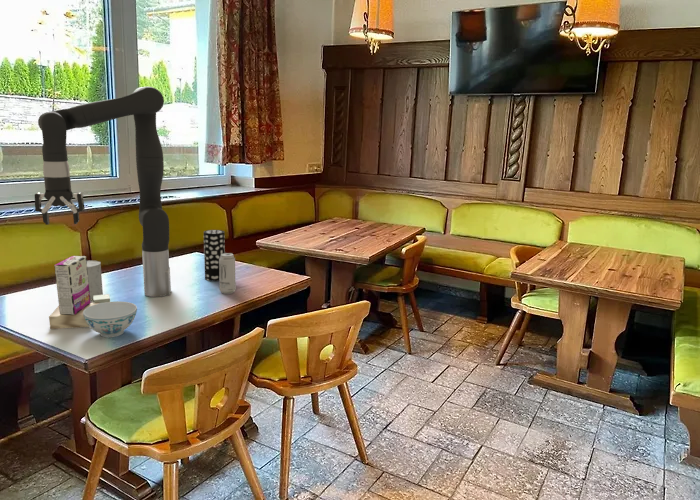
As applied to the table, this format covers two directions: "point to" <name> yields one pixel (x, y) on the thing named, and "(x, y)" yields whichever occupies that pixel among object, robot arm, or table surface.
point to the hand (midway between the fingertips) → (61, 223)
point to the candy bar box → (72, 285)
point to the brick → (101, 298)
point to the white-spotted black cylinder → (213, 253)
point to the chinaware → (110, 317)
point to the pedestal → (68, 319)
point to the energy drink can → (227, 273)
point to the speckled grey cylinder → (94, 278)
